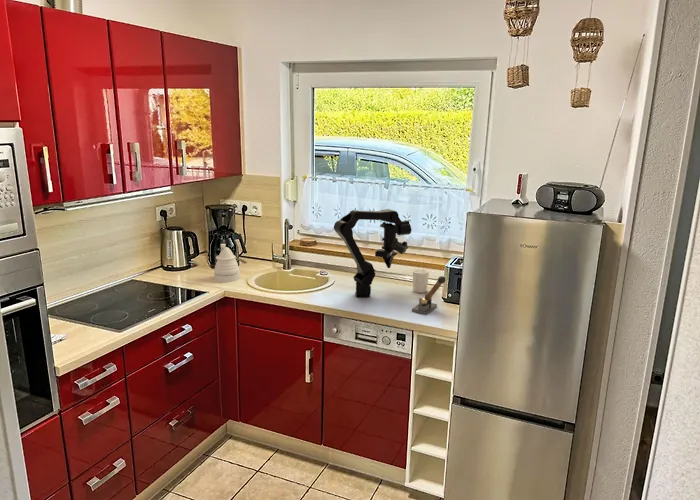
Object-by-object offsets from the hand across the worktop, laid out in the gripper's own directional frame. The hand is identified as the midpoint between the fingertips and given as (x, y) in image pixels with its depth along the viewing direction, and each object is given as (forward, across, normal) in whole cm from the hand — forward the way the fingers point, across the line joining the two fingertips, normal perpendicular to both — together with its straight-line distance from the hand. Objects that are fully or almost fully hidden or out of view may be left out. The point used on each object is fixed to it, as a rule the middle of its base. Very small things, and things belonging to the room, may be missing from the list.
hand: (388, 267), depth 252 cm
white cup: (+12, +10, -12) cm, 20 cm away
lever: (+9, -11, -24) cm, 28 cm away
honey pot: (+12, -26, +80) cm, 85 cm away
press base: (+12, -13, -24) cm, 30 cm away
